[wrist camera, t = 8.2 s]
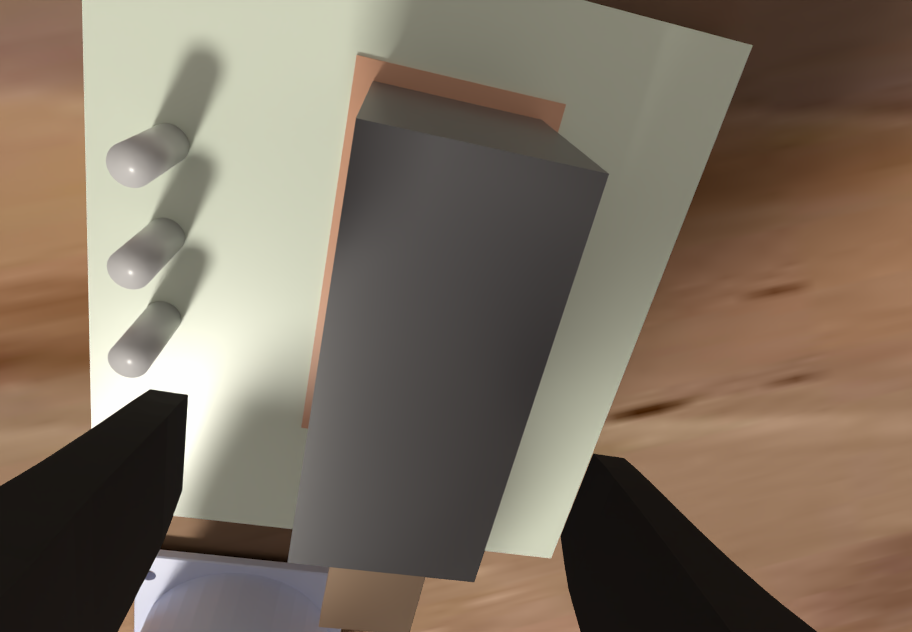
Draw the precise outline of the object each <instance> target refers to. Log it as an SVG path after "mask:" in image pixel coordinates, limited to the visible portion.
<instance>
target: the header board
mask: <svg viewBox="0 0 912 632" xmlns="http://www.w3.org/2000/svg"><path fill="white" fill-rule="evenodd" d="M82 19H83V64H84V109H85V154H86V200H87V245H88V290H89V335H90V380H91V425H92V428H93V427H95V426H96V425H98V424H99V423H101V422H102V421H104V420H105V419H107V418H108V417H109V416H111V415H112V414H114V413H115V412H117V411H118V410H120V409H121V408H122V407H124V406H125V405H127V404H128V403H130V402H131V401H133V400H134V399H136V398H137V397H139V396H140V395H142V394H143V393H145V392H146V391H148V390H149V389H153V390H159V391H166V392H173V393H180V394H187V395H188V408H187V424H186V440H185V457H184V473H183V490H182V493H181V495H180V498H179V501H178V504H177V507H176V509H175V512H174V515H173V516H180V517H189V518H198V519H207V520H216V521H224V522H233V523H242V524H251V525H260V526H269V527H278V528H287V529H293V523H294V517H295V510H296V504H297V497H298V491H299V484H300V478H301V471H302V465H303V458H304V452H305V445H306V439H307V432H308V426H309V419H310V413H311V406H312V400H313V393H314V387H315V380H316V374H317V367H318V361H319V354H320V348H321V341H322V335H323V329H324V322H325V316H326V309H327V303H328V296H329V290H330V283H331V277H332V270H333V264H334V257H335V251H336V244H337V238H338V231H339V225H340V218H341V212H342V205H343V199H344V192H345V186H346V179H347V173H348V166H349V160H350V153H351V147H352V140H353V134H354V127H355V121H356V117H357V115H358V112H359V110H360V108H361V106H362V104H363V101H364V99H365V97H366V95H367V93H368V91H369V88H370V86H371V84H372V82H373V81H376V82H381V83H385V84H389V85H394V86H398V87H402V88H407V89H411V90H415V91H420V92H424V93H428V94H433V95H437V96H441V97H446V98H450V99H454V100H459V101H463V102H467V103H472V104H476V105H480V106H484V107H489V108H493V109H497V110H502V111H506V112H510V113H515V114H519V115H523V116H528V117H532V118H536V119H541V120H543V121H544V122H545V123H546V124H548V125H549V126H550V127H551V128H553V129H554V130H555V131H556V132H558V133H559V134H560V135H561V136H563V137H564V138H565V139H566V140H568V141H569V142H570V143H571V144H573V145H574V146H575V147H576V148H578V149H579V150H580V151H581V152H583V153H584V154H585V155H586V156H588V157H589V158H590V159H591V160H592V161H594V162H595V163H596V164H597V165H599V166H600V167H601V168H602V169H604V170H605V171H606V172H607V173H609V176H608V179H607V182H606V185H605V188H604V191H603V194H602V197H601V200H600V203H599V206H598V209H597V212H596V215H595V218H594V221H593V224H592V227H591V230H590V233H589V236H588V239H587V242H586V245H585V248H584V251H583V255H582V258H581V261H580V264H579V267H578V270H577V273H576V276H575V279H574V282H573V285H572V288H571V291H570V294H569V297H568V300H567V303H566V306H565V309H564V312H563V315H562V318H561V321H560V324H559V327H558V330H557V333H556V336H555V339H554V342H553V345H552V348H551V351H550V354H549V357H548V360H547V363H546V366H545V370H544V373H543V376H542V379H541V382H540V385H539V388H538V391H537V394H536V397H535V400H534V403H533V406H532V409H531V412H530V415H529V418H528V421H527V424H526V427H525V430H524V433H523V436H522V439H521V442H520V445H519V448H518V451H517V454H516V457H515V460H514V463H513V466H512V469H511V472H510V475H509V478H508V481H507V485H506V488H505V491H504V494H503V497H502V500H501V503H500V506H499V509H498V512H497V515H496V518H495V521H494V524H493V527H492V530H491V533H490V536H489V539H488V542H487V545H486V548H485V551H491V552H500V553H508V554H517V555H526V556H535V557H544V558H551V557H552V555H553V552H554V549H555V547H556V544H557V542H558V539H559V537H560V534H561V532H562V529H563V527H564V524H565V522H566V519H567V516H568V514H569V511H570V509H571V506H572V504H573V501H574V499H575V496H576V494H577V491H578V488H579V486H580V483H581V481H582V478H583V476H584V473H585V471H586V468H587V466H588V463H589V461H590V458H591V455H592V453H593V450H594V448H595V445H596V443H597V440H598V438H599V435H600V433H601V430H602V427H603V425H604V422H605V420H606V417H607V415H608V412H609V410H610V407H611V405H612V402H613V399H614V397H615V394H616V392H617V389H618V387H619V384H620V382H621V379H622V377H623V374H624V372H625V369H626V366H627V364H628V361H629V359H630V356H631V354H632V351H633V349H634V346H635V344H636V341H637V338H638V336H639V333H640V331H641V328H642V326H643V323H644V321H645V318H646V316H647V313H648V310H649V308H650V305H651V303H652V300H653V298H654V295H655V293H656V290H657V288H658V285H659V283H660V280H661V277H662V275H663V272H664V270H665V267H666V265H667V262H668V260H669V257H670V255H671V252H672V249H673V247H674V244H675V242H676V239H677V237H678V234H679V232H680V229H681V227H682V224H683V221H684V219H685V216H686V214H687V211H688V209H689V206H690V204H691V201H692V199H693V196H694V194H695V191H696V188H697V186H698V183H699V181H700V178H701V176H702V173H703V171H704V168H705V166H706V163H707V160H708V158H709V155H710V153H711V150H712V148H713V145H714V143H715V140H716V138H717V135H718V133H719V130H720V127H721V125H722V122H723V120H724V117H725V115H726V112H727V110H728V107H729V105H730V102H731V99H732V97H733V94H734V92H735V89H736V87H737V84H738V82H739V79H740V77H741V74H742V71H743V69H744V66H745V64H746V61H747V59H748V56H749V54H750V51H751V49H752V46H753V45H750V44H746V43H742V42H739V41H735V40H731V39H727V38H724V37H720V36H716V35H712V34H709V33H705V32H701V31H697V30H694V29H690V28H686V27H682V26H679V25H675V24H671V23H667V22H664V21H660V20H656V19H652V18H649V17H645V16H641V15H637V14H634V13H630V12H626V11H622V10H619V9H615V8H611V7H607V6H604V5H600V4H596V3H592V2H589V1H585V0H82Z"/></svg>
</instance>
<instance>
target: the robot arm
mask: <svg viewBox="0 0 912 632" xmlns="http://www.w3.org/2000/svg"><path fill="white" fill-rule="evenodd" d="M187 408H188V395H187V394H180V393H173V392H166V391H159V390H153V389H149V390H148V391H146V392H145V393H143V394H142V395H140V396H139V397H137V398H136V399H134V400H133V401H131V402H130V403H128V404H127V405H125V406H124V407H122V408H121V409H120V410H118V411H117V412H115V413H114V414H112V415H111V416H109V417H108V418H107V419H105V420H104V421H102V422H101V423H99V424H98V425H96V426H95V427H93V428H92V429H90V430H89V431H87V432H86V433H85V434H83V435H82V436H80V437H78V438H77V439H75V440H74V441H72V442H71V443H69V444H68V445H66V446H65V447H63V448H62V449H60V450H59V451H57V452H55V453H54V454H52V455H51V456H49V457H48V458H46V459H45V460H43V461H42V462H40V463H38V464H37V465H35V466H33V467H32V468H30V469H28V470H27V471H25V472H23V473H22V474H20V475H18V476H17V477H15V478H13V479H12V480H10V481H8V482H6V483H5V484H3V485H1V486H0V632H118V630H119V628H120V626H121V624H122V622H123V620H124V619H125V617H126V615H127V613H128V611H129V609H130V607H131V605H132V603H133V601H134V599H135V602H134V632H341V629H336V628H324V627H319V619H320V612H321V607H322V601H323V596H324V591H325V586H326V581H327V576H328V570H329V567H323V566H314V565H304V564H294V563H286V562H276V561H267V560H257V559H247V558H238V557H228V556H219V555H209V554H199V553H190V552H180V551H170V550H161V549H160V548H161V546H162V544H163V541H164V539H165V536H166V533H167V531H168V528H169V526H170V523H171V520H172V518H173V515H174V512H175V509H176V507H177V504H178V501H179V498H180V495H181V493H182V490H183V473H184V457H185V440H186V424H187ZM561 542H562V550H563V557H564V564H565V570H566V576H567V582H568V588H569V592H570V596H571V599H572V603H573V607H574V610H575V614H576V617H577V621H578V624H579V628H580V631H581V632H817V631H815V630H814V629H813V628H812V627H810V626H809V625H808V624H806V623H805V622H804V621H803V620H801V619H800V618H799V617H798V616H796V615H795V614H794V613H792V612H791V611H790V610H789V609H787V608H786V607H785V606H783V605H782V604H781V603H780V602H779V601H777V600H776V599H775V598H774V597H773V596H771V595H770V594H769V593H768V592H767V591H765V590H764V589H763V588H762V587H761V586H760V585H758V584H757V583H756V582H755V581H754V580H753V579H752V578H751V577H749V576H748V575H747V574H746V573H745V572H744V571H743V570H742V569H740V568H739V567H738V566H737V565H736V564H735V563H734V562H732V561H731V560H730V559H729V558H728V557H727V556H726V555H725V554H724V553H723V552H722V551H721V550H719V549H718V548H717V547H716V546H715V545H714V544H713V543H712V542H711V541H710V540H709V539H708V538H707V537H706V536H705V535H704V534H703V533H702V532H701V531H699V530H698V529H697V528H696V527H695V526H694V525H693V524H692V523H691V522H690V521H689V520H688V519H687V518H686V517H685V516H684V515H683V514H682V513H681V512H680V511H679V510H678V509H677V508H676V507H675V506H674V505H673V504H672V503H671V502H670V501H669V500H668V499H667V498H666V497H665V496H664V495H663V494H662V493H661V492H660V491H659V490H658V489H657V488H656V487H655V486H654V485H653V484H652V483H651V482H650V481H649V480H647V479H646V478H645V477H644V476H643V475H642V474H641V473H640V472H639V471H638V470H637V469H636V468H635V467H634V466H633V465H631V464H630V463H629V462H628V461H627V460H626V459H624V458H619V457H612V456H605V455H598V454H593V456H592V458H591V461H590V463H589V466H588V469H587V471H586V474H585V476H584V479H583V481H582V484H581V486H580V489H579V491H578V494H577V496H576V499H575V501H574V504H573V506H572V509H571V511H570V514H569V516H568V519H567V521H566V524H565V526H564V529H563V531H562V534H561ZM150 571H153V572H150Z"/></svg>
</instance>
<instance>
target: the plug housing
mask: <svg viewBox="0 0 912 632" xmlns="http://www.w3.org/2000/svg"><path fill="white" fill-rule="evenodd" d="M608 176H609V173H607V172H606V171H605V170H604V169H602V168H601V167H600V166H599V165H597V164H596V163H595V162H594V161H592V160H591V159H590V158H589V157H588V156H586V155H585V154H584V153H583V152H581V151H580V150H579V149H578V148H576V147H575V146H574V145H573V144H571V143H570V142H569V141H568V140H566V139H565V138H564V137H563V136H561V135H560V134H559V133H558V132H556V131H555V130H554V129H553V128H551V127H550V126H549V125H548V124H546V123H545V122H544V121H543V120H541V119H536V118H532V117H528V116H523V115H519V114H515V113H510V112H506V111H502V110H497V109H493V108H489V107H484V106H480V105H476V104H472V103H467V102H463V101H459V100H454V99H450V98H446V97H441V96H437V95H433V94H428V93H424V92H420V91H415V90H411V89H407V88H402V87H398V86H394V85H389V84H385V83H381V82H376V81H373V82H372V84H371V86H370V88H369V91H368V93H367V95H366V97H365V99H364V101H363V104H362V106H361V108H360V110H359V112H358V115H357V117H356V121H355V127H354V134H353V140H352V147H351V153H350V160H349V166H348V173H347V179H346V186H345V192H344V199H343V205H342V212H341V218H340V225H339V231H338V238H337V244H336V251H335V257H334V264H333V270H332V277H331V283H330V290H329V296H328V303H327V309H326V316H325V322H324V329H323V335H322V341H321V348H320V354H319V361H318V367H317V374H316V380H315V387H314V393H313V400H312V406H311V413H310V419H309V426H308V432H307V439H306V445H305V452H304V458H303V465H302V471H301V478H300V484H299V491H298V497H297V504H296V510H295V517H294V523H293V530H292V536H291V543H290V549H289V556H288V562H287V563H294V564H304V565H314V566H323V567H329V570H328V576H327V581H326V586H325V591H324V596H323V601H322V607H321V612H320V619H319V627H324V628H336V629H347V630H358V631H370V632H410V630H411V626H412V623H413V619H414V615H415V612H416V608H417V605H418V601H419V598H420V594H421V591H422V587H423V584H424V580H425V577H429V578H439V579H448V580H458V581H468V582H474V581H475V578H476V575H477V572H478V569H479V566H480V563H481V560H482V557H483V554H484V551H485V548H486V545H487V542H488V539H489V536H490V533H491V530H492V527H493V524H494V521H495V518H496V515H497V512H498V509H499V506H500V503H501V500H502V497H503V494H504V491H505V488H506V485H507V481H508V478H509V475H510V472H511V469H512V466H513V463H514V460H515V457H516V454H517V451H518V448H519V445H520V442H521V439H522V436H523V433H524V430H525V427H526V424H527V421H528V418H529V415H530V412H531V409H532V406H533V403H534V400H535V397H536V394H537V391H538V388H539V385H540V382H541V379H542V376H543V373H544V370H545V366H546V363H547V360H548V357H549V354H550V351H551V348H552V345H553V342H554V339H555V336H556V333H557V330H558V327H559V324H560V321H561V318H562V315H563V312H564V309H565V306H566V303H567V300H568V297H569V294H570V291H571V288H572V285H573V282H574V279H575V276H576V273H577V270H578V267H579V264H580V261H581V258H582V255H583V251H584V248H585V245H586V242H587V239H588V236H589V233H590V230H591V227H592V224H593V221H594V218H595V215H596V212H597V209H598V206H599V203H600V200H601V197H602V194H603V191H604V188H605V185H606V182H607V179H608Z"/></svg>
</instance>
